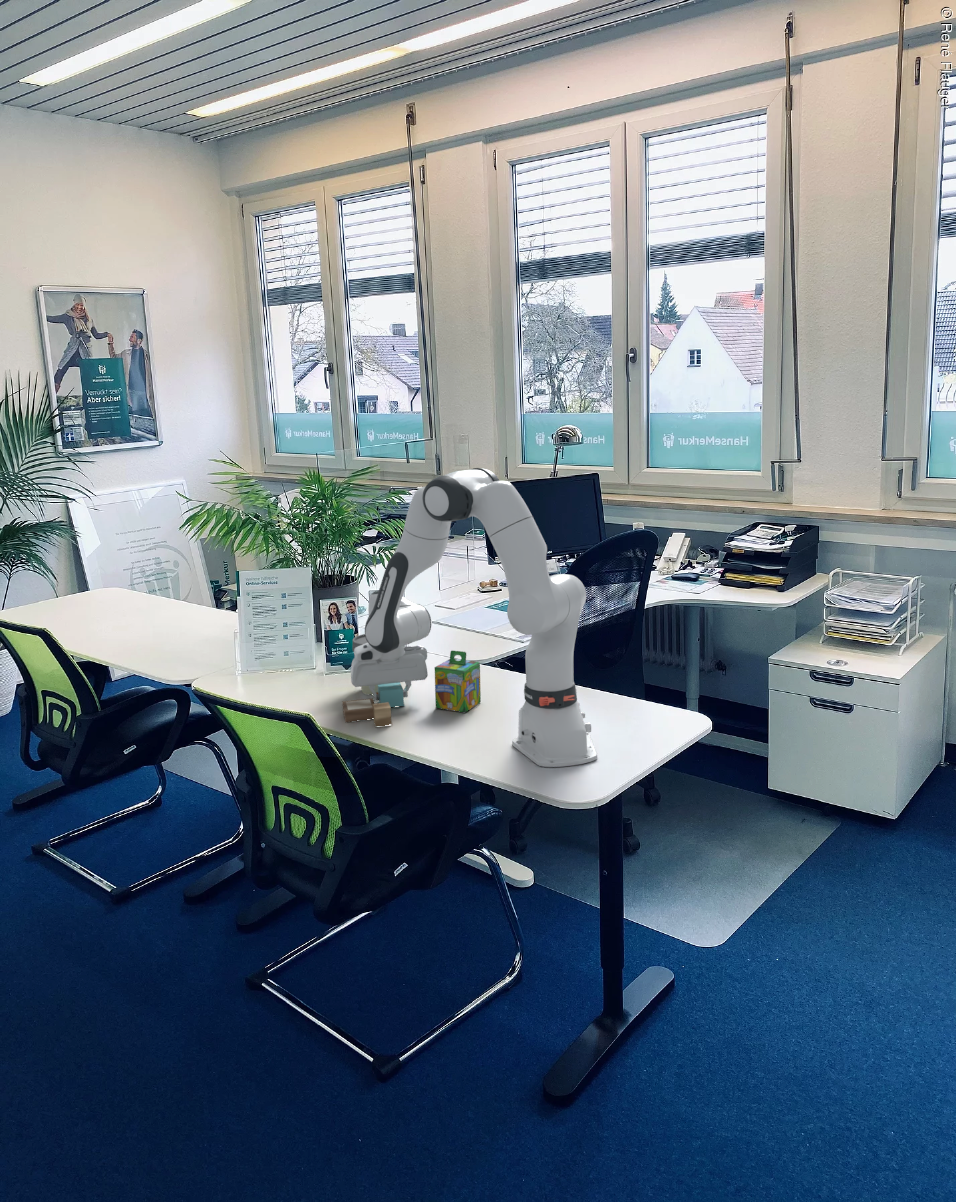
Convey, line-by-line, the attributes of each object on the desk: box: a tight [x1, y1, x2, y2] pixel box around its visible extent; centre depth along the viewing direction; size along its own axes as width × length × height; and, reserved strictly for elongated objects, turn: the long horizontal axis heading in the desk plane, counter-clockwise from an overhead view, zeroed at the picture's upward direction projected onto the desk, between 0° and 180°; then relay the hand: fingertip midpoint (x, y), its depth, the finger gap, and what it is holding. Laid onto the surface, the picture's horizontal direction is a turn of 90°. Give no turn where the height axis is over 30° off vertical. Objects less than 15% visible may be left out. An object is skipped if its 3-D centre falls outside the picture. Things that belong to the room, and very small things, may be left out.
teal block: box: [378, 682, 405, 707], centre depth 256 cm, size 6×6×5 cm
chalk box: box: [434, 650, 482, 713], centre depth 251 cm, size 9×9×15 cm
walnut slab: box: [341, 697, 376, 723], centre depth 248 cm, size 8×8×3 cm
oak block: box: [373, 702, 393, 726], centre depth 241 cm, size 4×4×5 cm
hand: (390, 698), depth 256 cm, fingers closed on teal block, 6 cm apart
